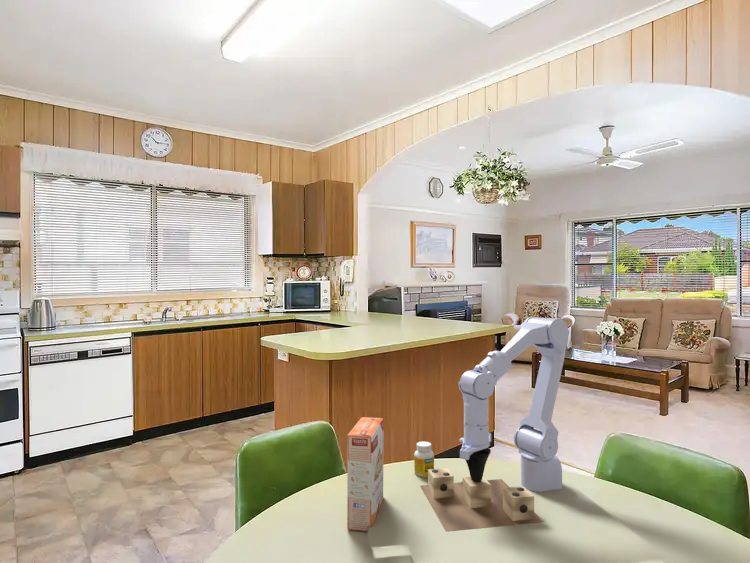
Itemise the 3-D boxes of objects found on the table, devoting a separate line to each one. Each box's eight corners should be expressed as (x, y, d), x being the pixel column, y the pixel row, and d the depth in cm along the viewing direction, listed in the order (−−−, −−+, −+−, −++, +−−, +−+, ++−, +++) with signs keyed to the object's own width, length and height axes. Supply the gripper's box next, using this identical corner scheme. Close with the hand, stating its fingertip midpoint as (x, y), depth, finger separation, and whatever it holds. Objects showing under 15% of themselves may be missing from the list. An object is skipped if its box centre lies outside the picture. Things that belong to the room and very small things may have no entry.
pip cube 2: (523, 508, 108) (523, 485, 108) (534, 519, 103) (534, 495, 103) (503, 509, 107) (502, 487, 107) (512, 521, 102) (512, 497, 102)
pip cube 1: (447, 487, 118) (447, 467, 118) (453, 497, 113) (453, 476, 113) (428, 489, 118) (428, 469, 118) (433, 498, 113) (433, 477, 113)
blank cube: (483, 496, 114) (482, 475, 114) (491, 506, 109) (491, 484, 109) (463, 498, 113) (462, 477, 113) (470, 508, 108) (470, 486, 108)
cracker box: (373, 533, 100) (372, 436, 100) (346, 531, 102) (345, 434, 101) (385, 502, 114) (384, 416, 114) (361, 500, 115) (360, 415, 115)
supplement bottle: (423, 473, 131) (422, 438, 131) (438, 479, 127) (438, 443, 127) (410, 479, 127) (410, 443, 127) (425, 485, 124) (425, 448, 123)
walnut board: (501, 484, 123) (501, 479, 123) (544, 528, 102) (544, 521, 102) (419, 491, 120) (419, 485, 120) (445, 538, 98) (445, 531, 98)
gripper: (472, 412, 119) (472, 466, 119) (447, 427, 107) (447, 487, 107) (499, 417, 115) (499, 472, 115) (476, 433, 103) (477, 495, 103)
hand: (476, 480), depth 111 cm, fingers closed
